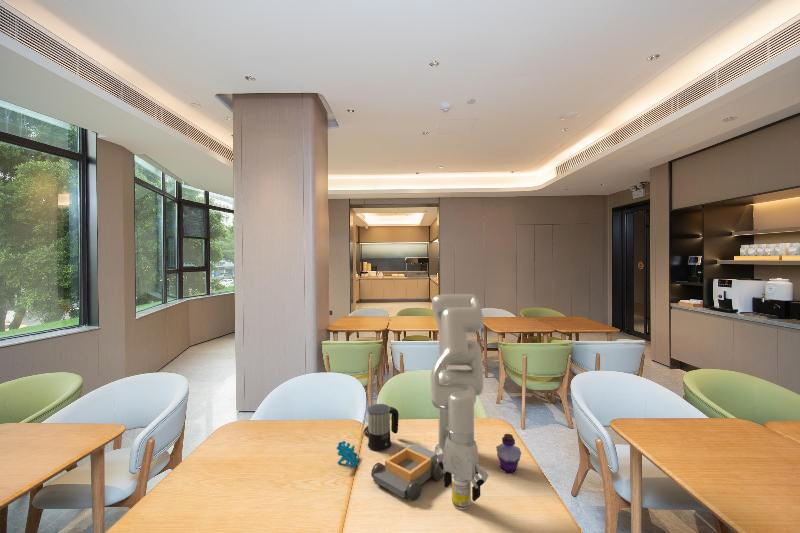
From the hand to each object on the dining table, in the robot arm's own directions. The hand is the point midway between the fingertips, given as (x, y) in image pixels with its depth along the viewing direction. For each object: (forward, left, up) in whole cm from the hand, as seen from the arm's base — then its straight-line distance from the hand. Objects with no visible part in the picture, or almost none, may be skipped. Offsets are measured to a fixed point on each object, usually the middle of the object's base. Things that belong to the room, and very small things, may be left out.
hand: (461, 491), depth 109 cm
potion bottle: (-26, +3, -4) cm, 27 cm away
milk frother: (-10, -47, -4) cm, 48 cm away
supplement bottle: (0, 0, -4) cm, 4 cm away
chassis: (+1, -20, -4) cm, 21 cm away
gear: (+8, -43, -4) cm, 44 cm away
